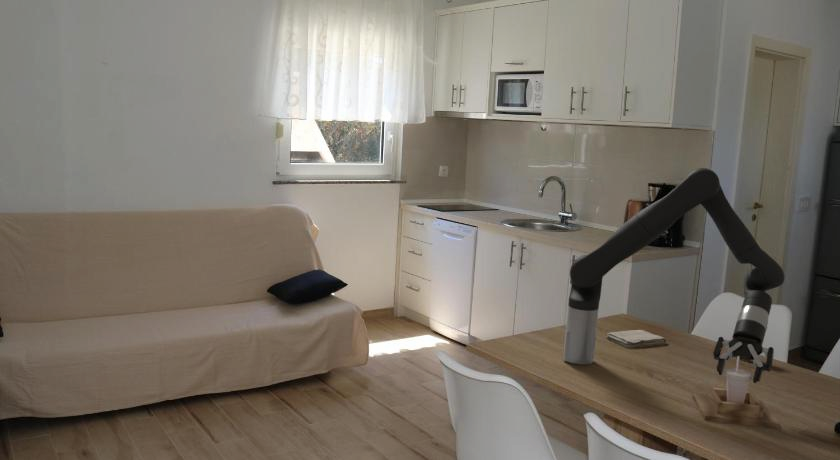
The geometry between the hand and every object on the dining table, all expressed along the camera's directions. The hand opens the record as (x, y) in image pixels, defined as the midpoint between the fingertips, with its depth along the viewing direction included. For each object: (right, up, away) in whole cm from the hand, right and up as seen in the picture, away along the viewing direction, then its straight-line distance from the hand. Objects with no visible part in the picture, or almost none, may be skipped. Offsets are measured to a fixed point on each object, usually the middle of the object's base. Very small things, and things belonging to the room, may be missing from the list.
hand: (737, 377), depth 189 cm
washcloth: (-8, -1, +62) cm, 63 cm away
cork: (+24, -4, +49) cm, 55 cm away
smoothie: (0, -9, +3) cm, 9 cm away
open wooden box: (0, -10, +3) cm, 10 cm away
